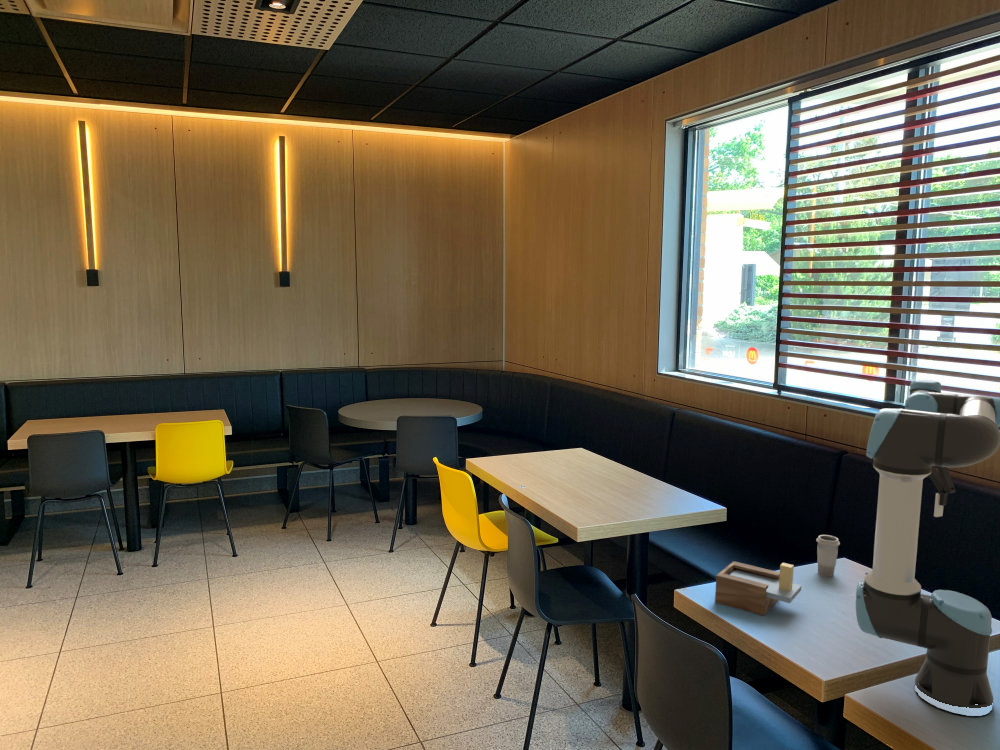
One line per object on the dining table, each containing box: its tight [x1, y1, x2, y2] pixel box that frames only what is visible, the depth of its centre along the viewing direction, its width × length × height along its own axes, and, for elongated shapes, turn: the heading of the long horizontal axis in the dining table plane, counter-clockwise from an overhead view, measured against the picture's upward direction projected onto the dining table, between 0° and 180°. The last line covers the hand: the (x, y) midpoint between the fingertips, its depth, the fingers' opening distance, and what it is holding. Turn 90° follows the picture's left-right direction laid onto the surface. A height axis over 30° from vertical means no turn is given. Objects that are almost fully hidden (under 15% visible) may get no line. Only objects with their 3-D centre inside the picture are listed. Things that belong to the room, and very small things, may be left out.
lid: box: [730, 562, 802, 604], centre depth 214 cm, size 11×19×8 cm, turn 53°
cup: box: [815, 534, 841, 578], centre depth 237 cm, size 7×7×12 cm
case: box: [714, 561, 780, 617], centre depth 217 cm, size 14×14×8 cm
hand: (914, 509), depth 210 cm, fingers open, 13 cm apart
